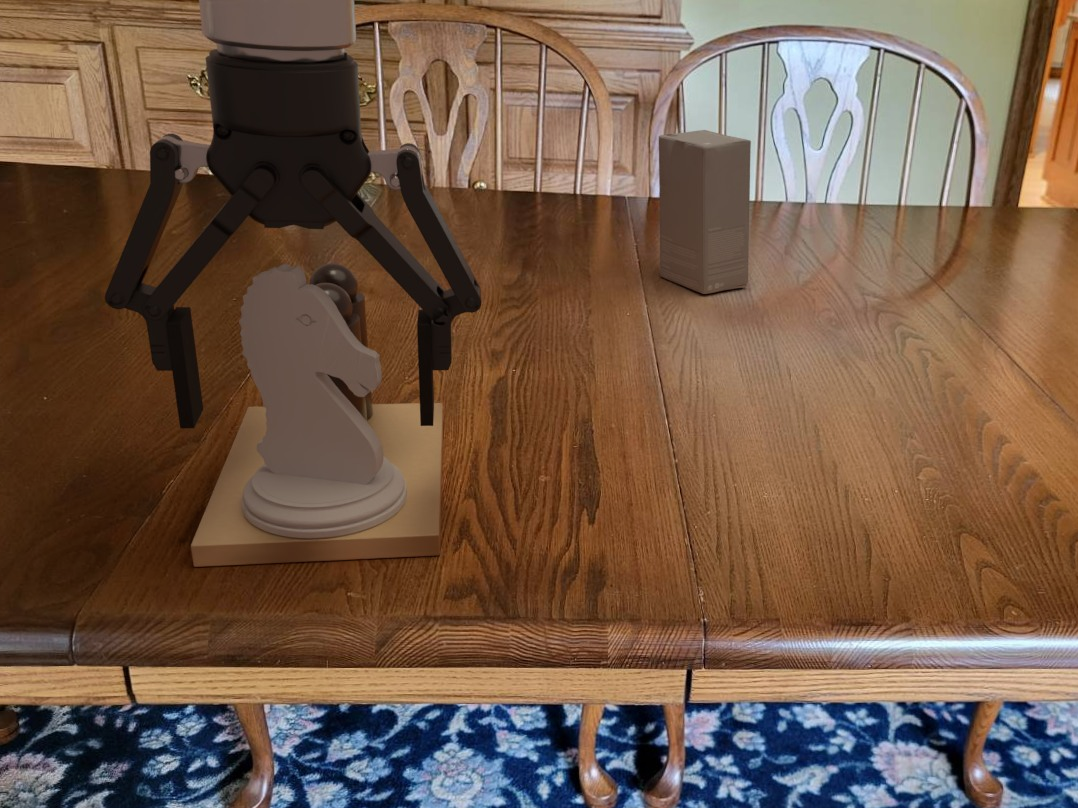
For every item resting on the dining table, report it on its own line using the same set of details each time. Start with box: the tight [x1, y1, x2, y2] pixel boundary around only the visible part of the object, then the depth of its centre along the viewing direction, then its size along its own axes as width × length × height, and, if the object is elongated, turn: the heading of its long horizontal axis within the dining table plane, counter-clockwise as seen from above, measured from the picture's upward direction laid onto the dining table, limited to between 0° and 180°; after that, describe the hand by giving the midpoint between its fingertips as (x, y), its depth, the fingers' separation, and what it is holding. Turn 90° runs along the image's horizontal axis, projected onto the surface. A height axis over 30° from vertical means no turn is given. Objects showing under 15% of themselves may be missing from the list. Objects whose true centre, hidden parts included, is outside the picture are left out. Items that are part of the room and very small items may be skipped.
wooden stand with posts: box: [190, 262, 444, 568], centre depth 71 cm, size 14×20×13 cm
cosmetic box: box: [658, 129, 752, 295], centre depth 117 cm, size 8×7×16 cm
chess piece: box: [238, 263, 407, 539], centre depth 66 cm, size 10×10×15 cm
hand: (312, 418), depth 67 cm, fingers open, 13 cm apart
